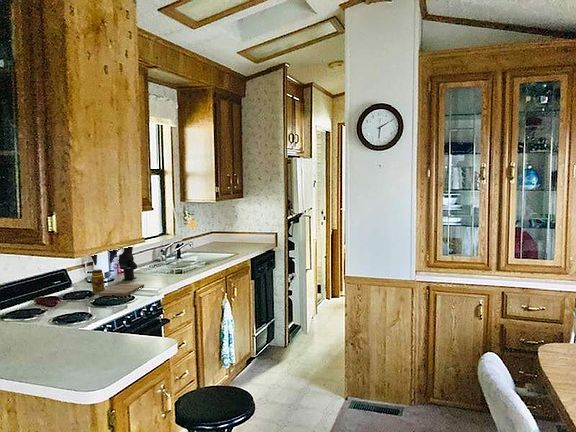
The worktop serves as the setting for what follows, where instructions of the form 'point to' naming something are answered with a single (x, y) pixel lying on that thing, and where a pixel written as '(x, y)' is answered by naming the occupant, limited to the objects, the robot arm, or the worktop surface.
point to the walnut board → (121, 290)
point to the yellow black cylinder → (97, 281)
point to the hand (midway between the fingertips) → (103, 264)
